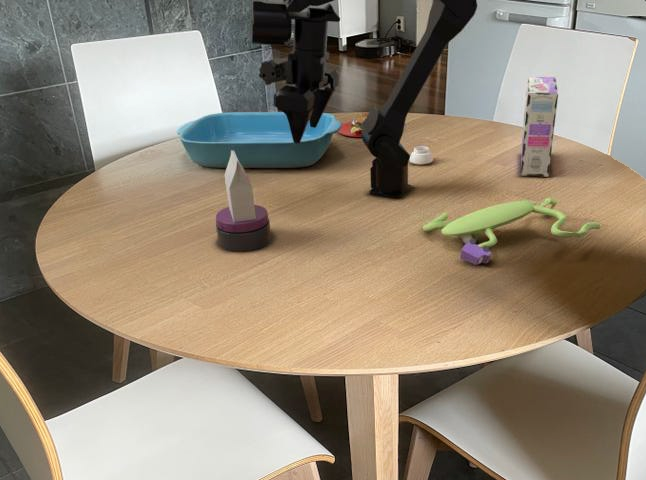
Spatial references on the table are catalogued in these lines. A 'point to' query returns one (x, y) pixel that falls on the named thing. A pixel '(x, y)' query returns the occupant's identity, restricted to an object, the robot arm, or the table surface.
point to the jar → (244, 239)
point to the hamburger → (354, 126)
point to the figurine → (498, 225)
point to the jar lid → (227, 223)
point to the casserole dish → (255, 140)
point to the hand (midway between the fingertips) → (305, 134)
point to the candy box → (538, 126)
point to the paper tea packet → (239, 191)
